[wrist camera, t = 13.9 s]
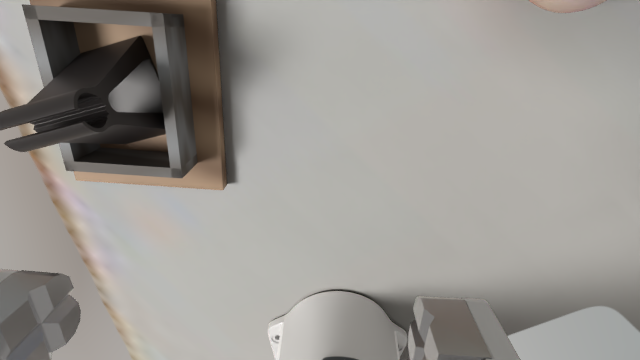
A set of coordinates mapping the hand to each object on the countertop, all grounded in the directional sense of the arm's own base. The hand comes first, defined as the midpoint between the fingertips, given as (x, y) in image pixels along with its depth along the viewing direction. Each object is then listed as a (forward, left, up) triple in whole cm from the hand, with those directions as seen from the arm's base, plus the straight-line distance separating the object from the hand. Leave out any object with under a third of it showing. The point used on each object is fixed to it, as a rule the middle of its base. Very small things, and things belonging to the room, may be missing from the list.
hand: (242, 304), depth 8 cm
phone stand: (-1, +17, -27) cm, 32 cm away
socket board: (-1, +17, -29) cm, 33 cm away
